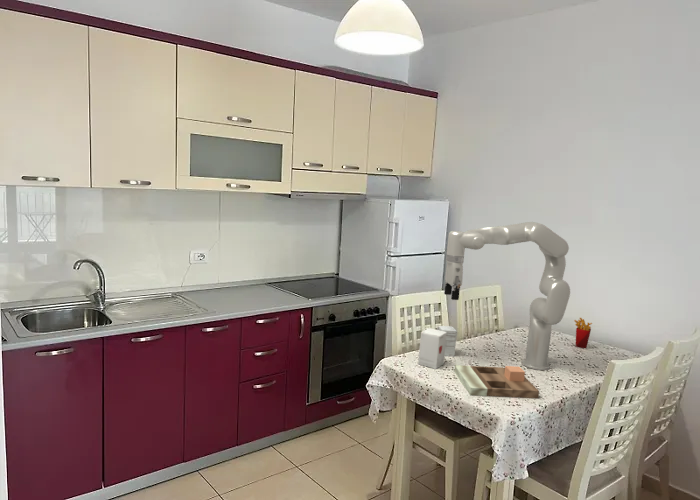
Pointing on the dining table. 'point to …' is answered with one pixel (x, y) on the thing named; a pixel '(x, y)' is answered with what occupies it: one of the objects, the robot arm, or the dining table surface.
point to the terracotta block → (514, 373)
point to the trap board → (493, 382)
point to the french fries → (582, 333)
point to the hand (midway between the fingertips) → (451, 297)
